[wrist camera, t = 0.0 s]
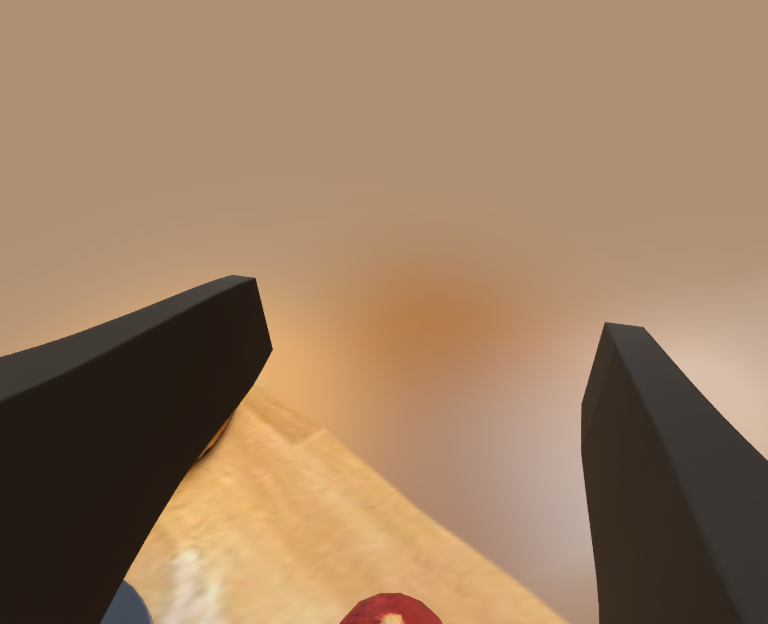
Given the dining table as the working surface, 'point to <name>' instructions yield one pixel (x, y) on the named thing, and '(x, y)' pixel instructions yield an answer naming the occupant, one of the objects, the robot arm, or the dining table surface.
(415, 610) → the onion
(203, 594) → the dining table surface
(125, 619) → the lid
